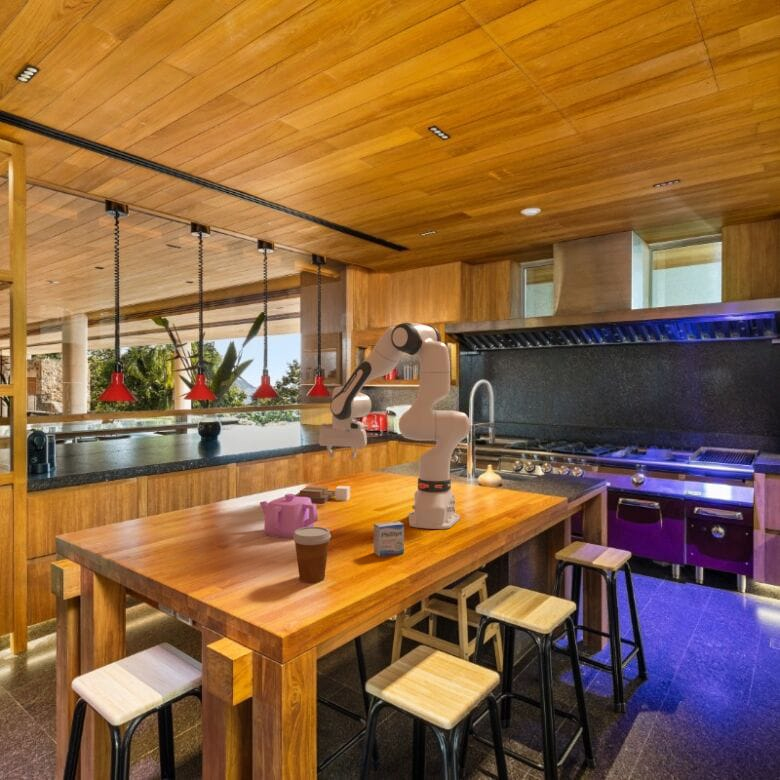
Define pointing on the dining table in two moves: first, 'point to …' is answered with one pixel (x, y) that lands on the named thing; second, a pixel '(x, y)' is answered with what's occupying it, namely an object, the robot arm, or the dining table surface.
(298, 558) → the disposable coffee cup
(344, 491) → the cream block
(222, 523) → the dining table surface
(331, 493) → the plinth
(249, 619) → the dining table surface
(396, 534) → the medicine box
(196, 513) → the dining table surface
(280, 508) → the teakettle
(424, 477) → the robot arm
